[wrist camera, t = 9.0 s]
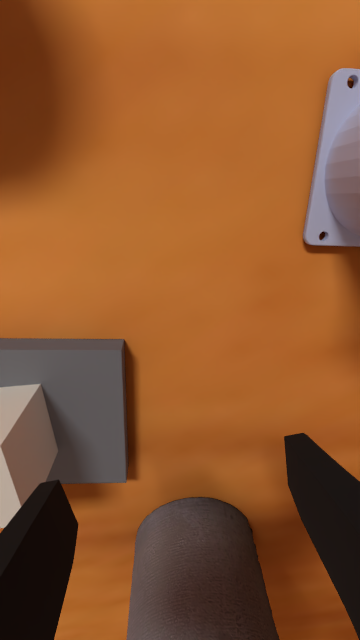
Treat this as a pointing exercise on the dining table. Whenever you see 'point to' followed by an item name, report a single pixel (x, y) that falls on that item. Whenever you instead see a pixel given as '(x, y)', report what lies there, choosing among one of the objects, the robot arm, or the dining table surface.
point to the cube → (23, 446)
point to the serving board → (77, 402)
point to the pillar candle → (198, 576)
